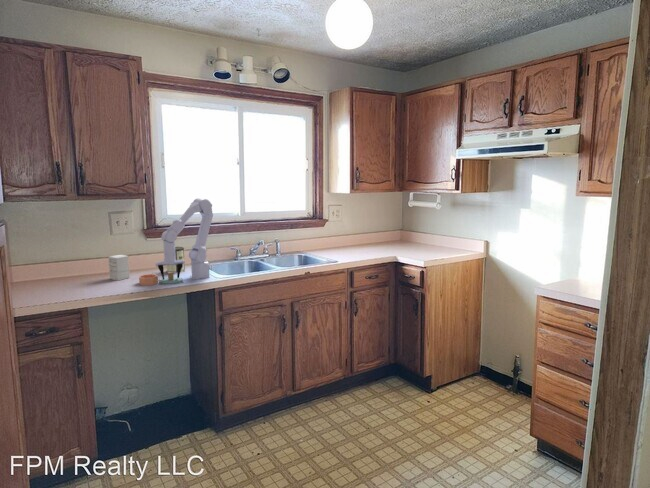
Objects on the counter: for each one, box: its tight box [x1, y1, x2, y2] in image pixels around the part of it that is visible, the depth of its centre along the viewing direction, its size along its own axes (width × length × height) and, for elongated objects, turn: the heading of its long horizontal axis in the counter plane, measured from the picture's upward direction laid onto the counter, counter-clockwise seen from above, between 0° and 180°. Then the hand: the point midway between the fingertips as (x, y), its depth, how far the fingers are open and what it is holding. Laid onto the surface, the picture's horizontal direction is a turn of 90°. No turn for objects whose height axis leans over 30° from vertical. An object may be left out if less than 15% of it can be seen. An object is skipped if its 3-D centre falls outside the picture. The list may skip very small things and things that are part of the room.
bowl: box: [138, 273, 159, 286], centre depth 223 cm, size 9×9×4 cm
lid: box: [159, 272, 183, 285], centre depth 227 cm, size 11×11×5 cm
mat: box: [158, 277, 185, 286], centre depth 227 cm, size 12×12×1 cm
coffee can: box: [166, 246, 186, 274], centre depth 251 cm, size 10×10×14 cm
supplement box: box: [107, 254, 130, 281], centre depth 233 cm, size 7×7×13 cm
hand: (170, 278), depth 227 cm, fingers open, 7 cm apart
